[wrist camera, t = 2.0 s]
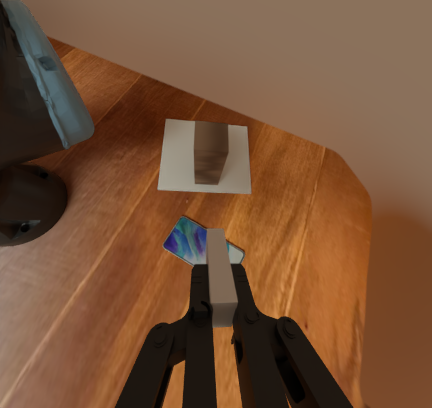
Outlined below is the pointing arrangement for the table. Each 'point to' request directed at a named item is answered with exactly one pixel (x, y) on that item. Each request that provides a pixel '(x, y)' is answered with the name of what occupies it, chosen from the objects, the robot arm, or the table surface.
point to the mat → (184, 160)
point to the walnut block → (210, 151)
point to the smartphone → (194, 243)
